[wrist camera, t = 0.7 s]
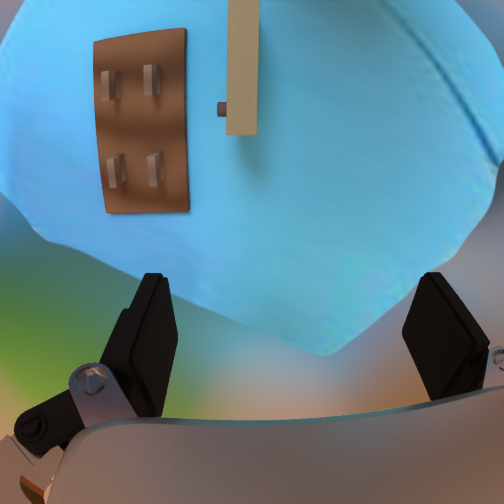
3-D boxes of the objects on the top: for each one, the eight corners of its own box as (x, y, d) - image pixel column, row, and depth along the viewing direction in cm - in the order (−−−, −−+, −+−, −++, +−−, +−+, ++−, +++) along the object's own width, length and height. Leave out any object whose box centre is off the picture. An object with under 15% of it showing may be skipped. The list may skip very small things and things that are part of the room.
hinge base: (98, 42, 26) (80, 39, 22) (186, 29, 26) (178, 22, 22) (109, 209, 35) (95, 223, 32) (189, 208, 36) (183, 223, 32)
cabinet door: (226, 10, 25) (214, -28, 14) (256, 10, 25) (260, -28, 15) (224, 118, 31) (211, 135, 20) (254, 119, 31) (256, 135, 20)
